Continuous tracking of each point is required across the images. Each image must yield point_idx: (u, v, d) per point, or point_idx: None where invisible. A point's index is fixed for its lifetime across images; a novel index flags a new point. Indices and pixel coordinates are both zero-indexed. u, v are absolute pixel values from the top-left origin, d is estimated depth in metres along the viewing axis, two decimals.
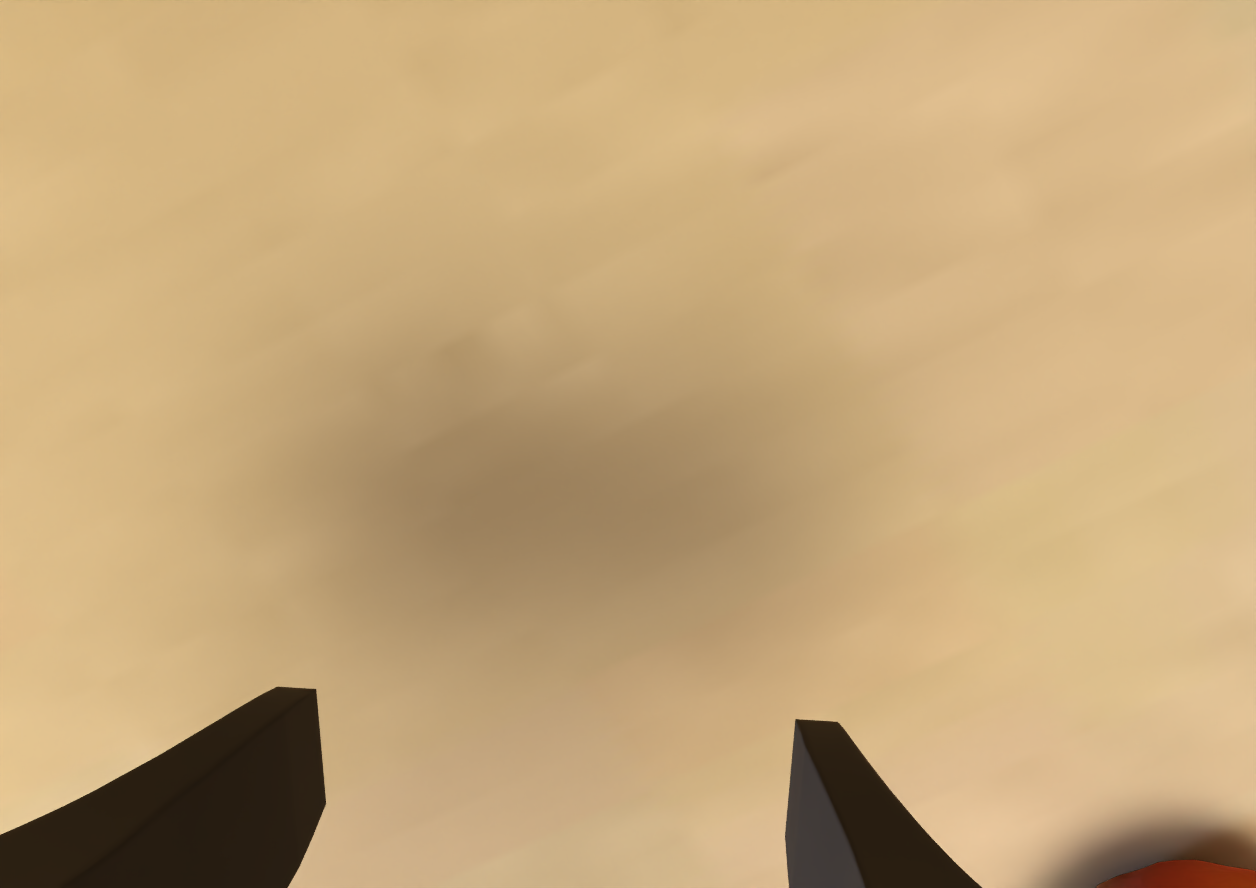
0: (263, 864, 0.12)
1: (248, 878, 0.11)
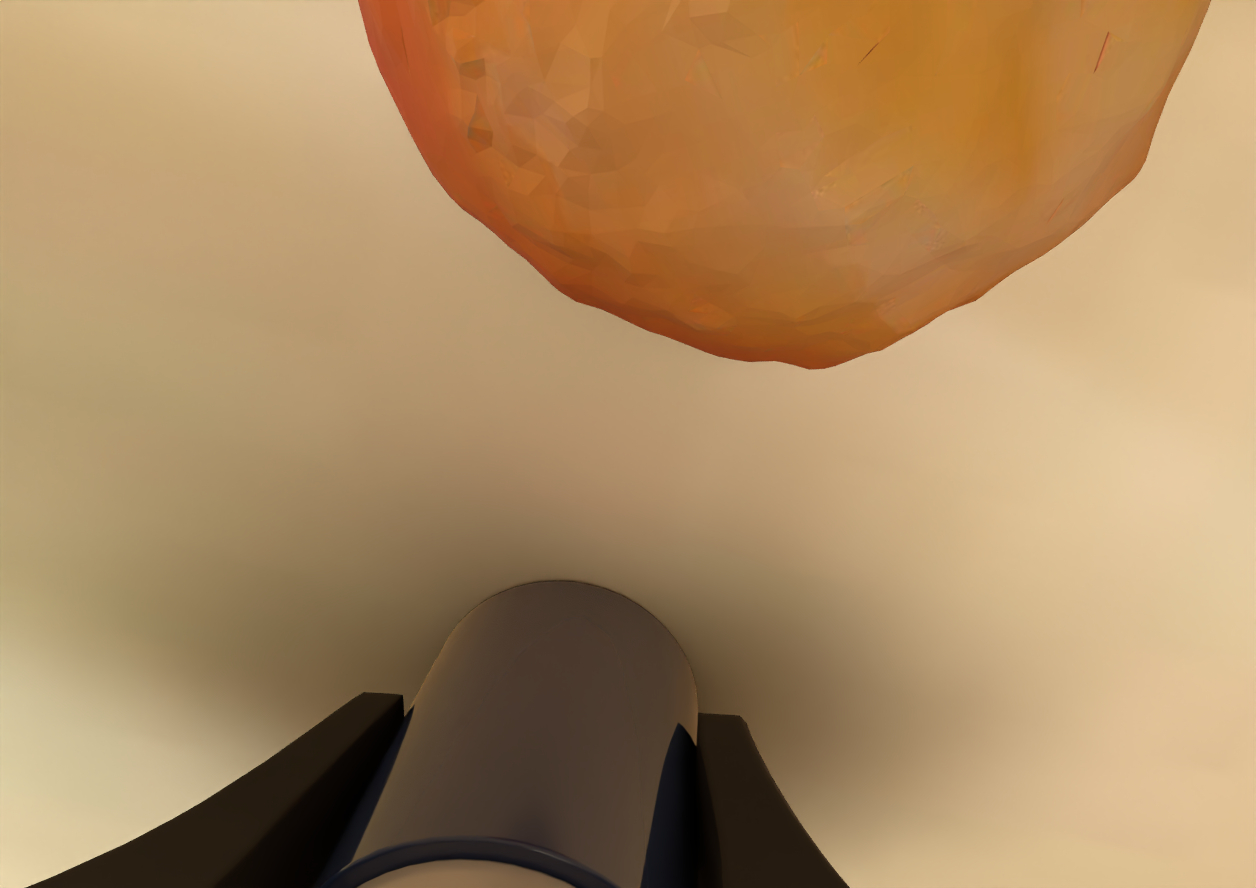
0: None
1: None
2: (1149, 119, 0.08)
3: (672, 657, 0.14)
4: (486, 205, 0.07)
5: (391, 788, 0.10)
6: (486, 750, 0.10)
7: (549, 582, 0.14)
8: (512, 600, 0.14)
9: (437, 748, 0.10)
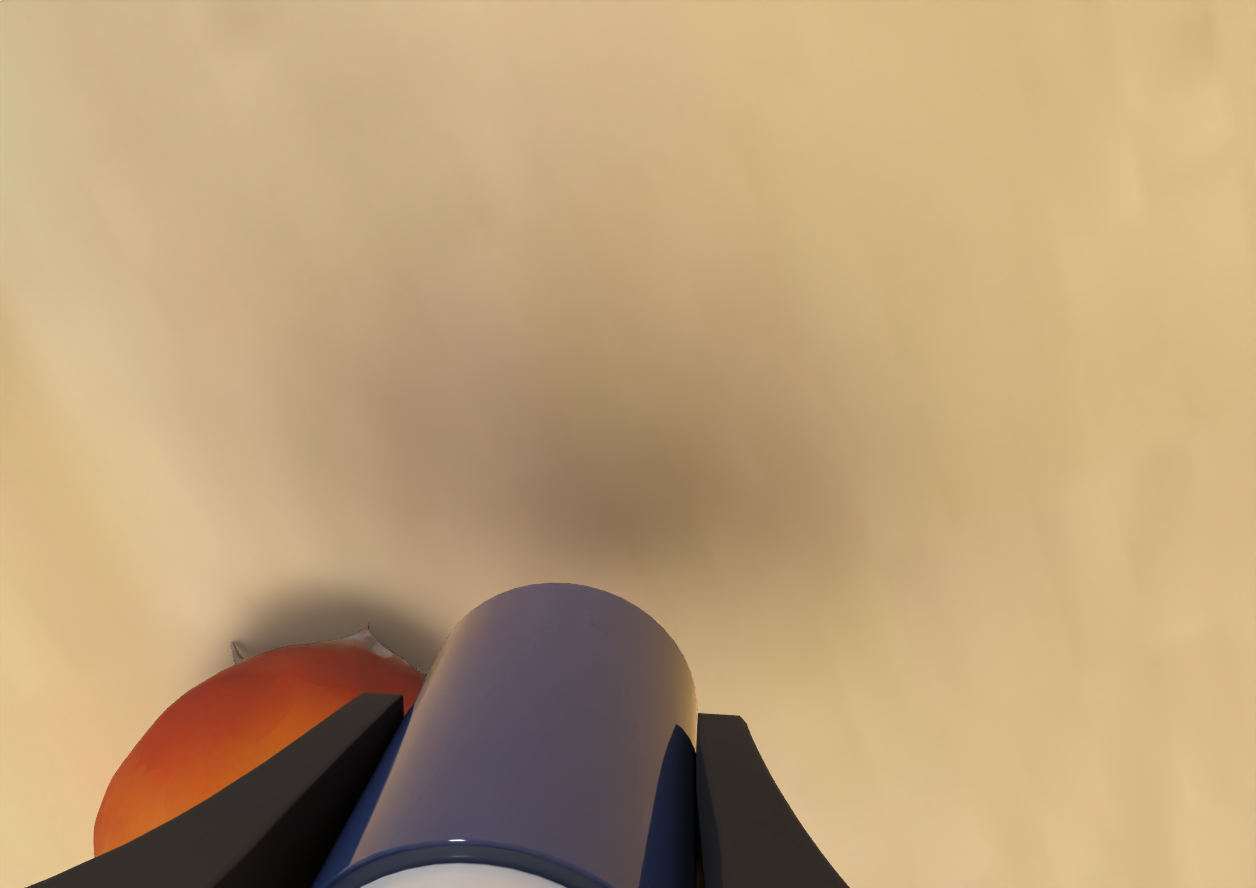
0: None
1: None
2: None
3: (671, 659, 0.14)
4: None
5: (389, 791, 0.10)
6: (484, 753, 0.10)
7: None
8: (511, 601, 0.14)
9: (435, 752, 0.10)
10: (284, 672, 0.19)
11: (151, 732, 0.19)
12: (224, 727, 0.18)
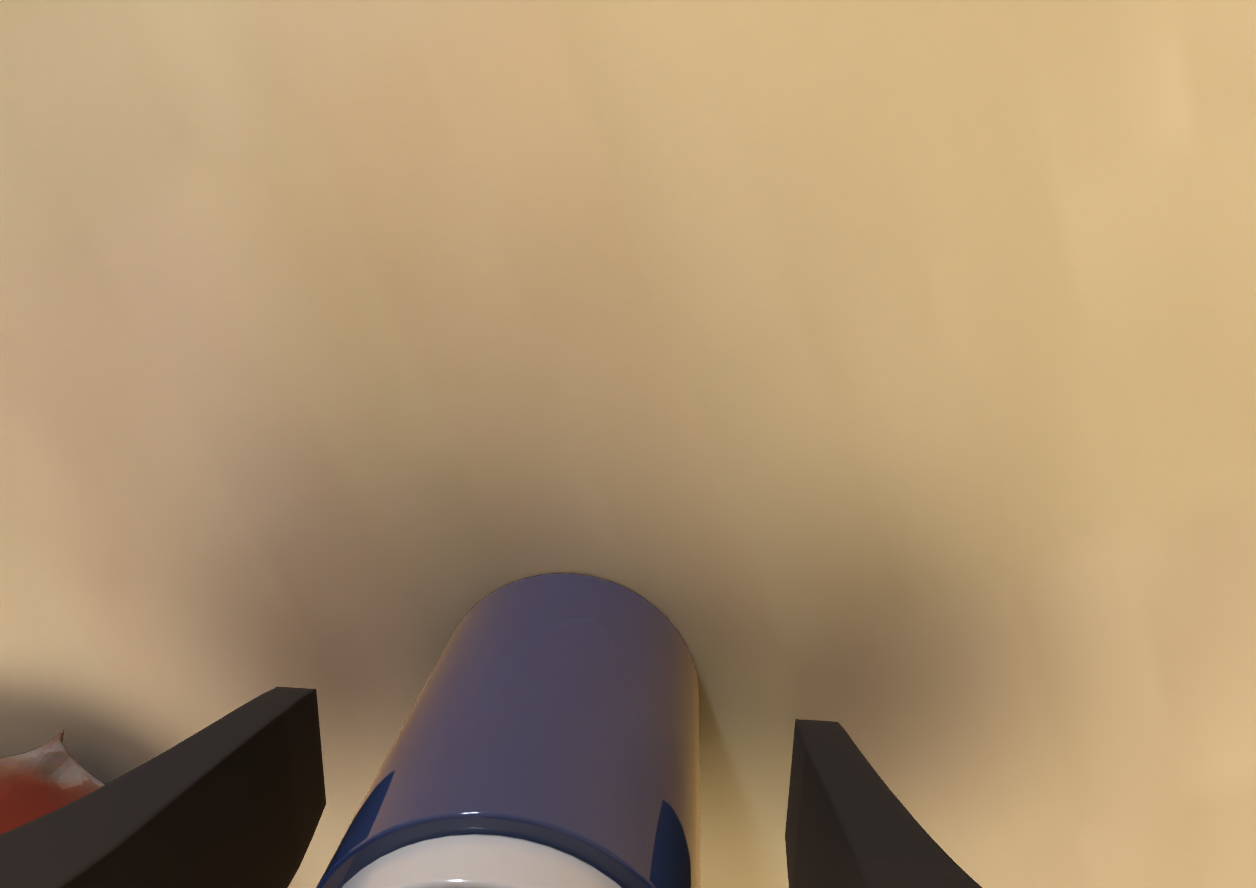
0: (263, 864, 0.12)
1: (248, 878, 0.11)
2: None
3: (674, 646, 0.14)
4: None
5: (405, 769, 0.10)
6: (496, 732, 0.10)
7: (555, 573, 0.14)
8: (518, 591, 0.14)
9: (448, 732, 0.11)
10: None
11: None
12: None
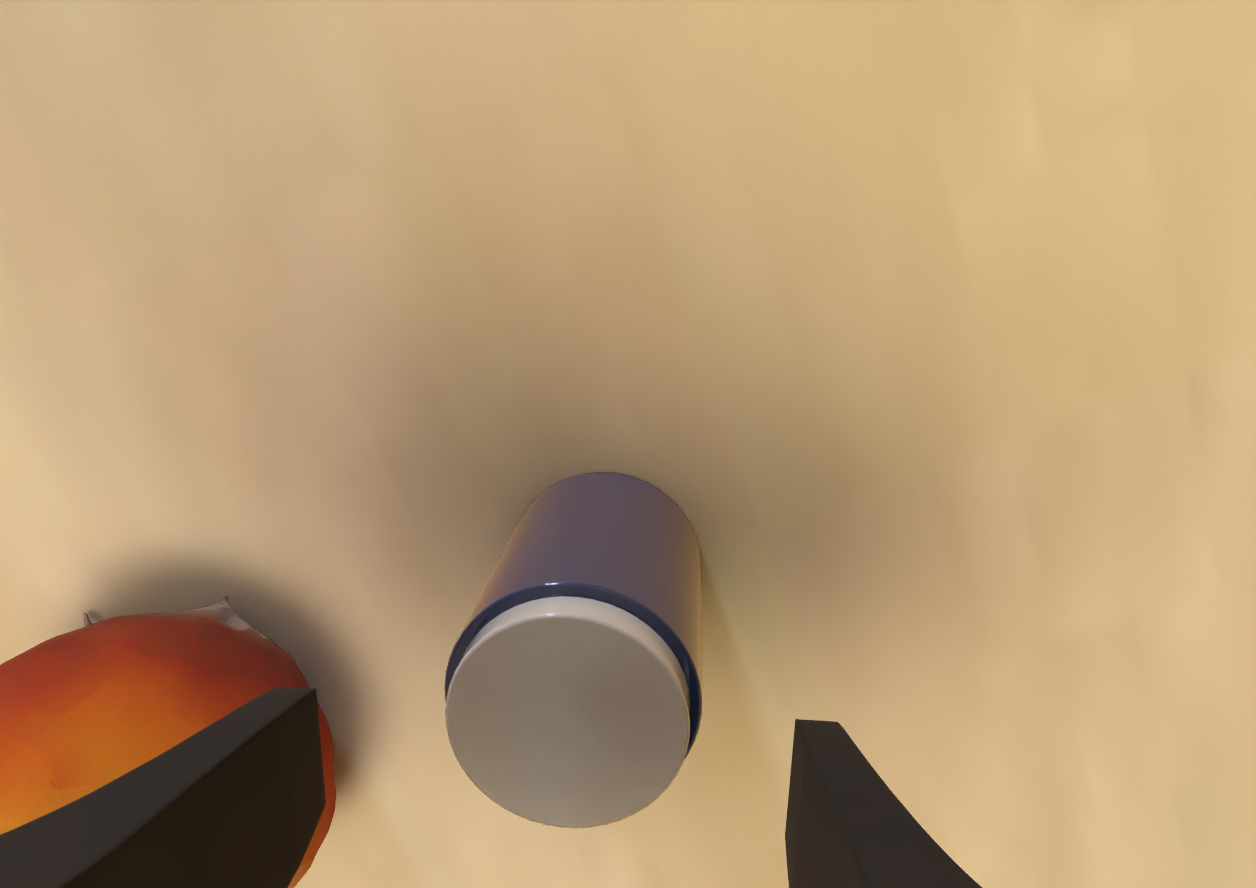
0: (263, 864, 0.12)
1: (248, 878, 0.11)
2: None
3: (683, 523, 0.19)
4: None
5: (510, 572, 0.16)
6: (569, 549, 0.16)
7: (596, 473, 0.20)
8: (571, 483, 0.20)
9: (536, 552, 0.16)
10: (111, 640, 0.18)
11: None
12: (30, 696, 0.17)
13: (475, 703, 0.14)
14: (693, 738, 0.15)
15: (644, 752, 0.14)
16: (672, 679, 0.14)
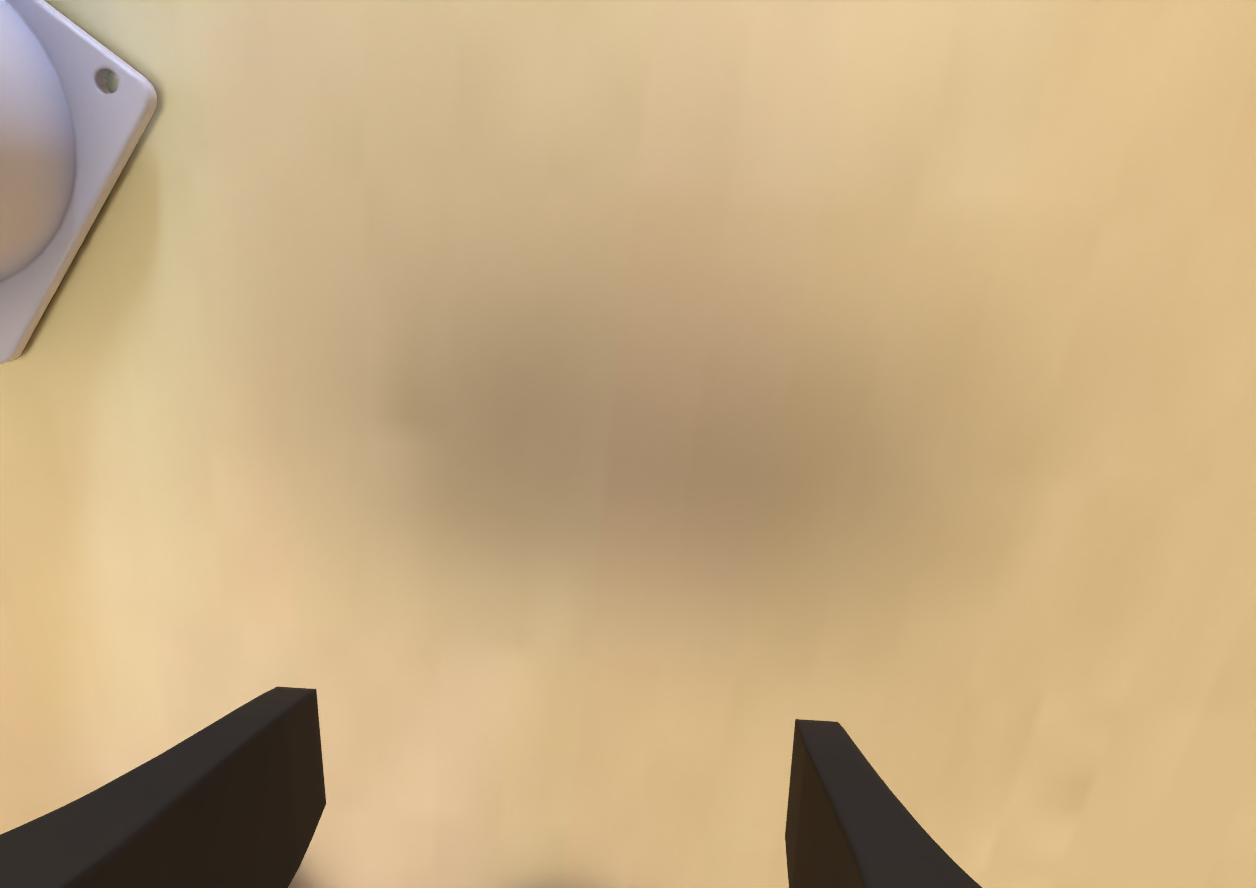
0: (263, 864, 0.12)
1: (248, 878, 0.11)
2: None
3: None
4: None
5: None
6: None
7: None
8: None
9: None
10: None
11: None
12: None
13: None
14: None
15: None
16: None
